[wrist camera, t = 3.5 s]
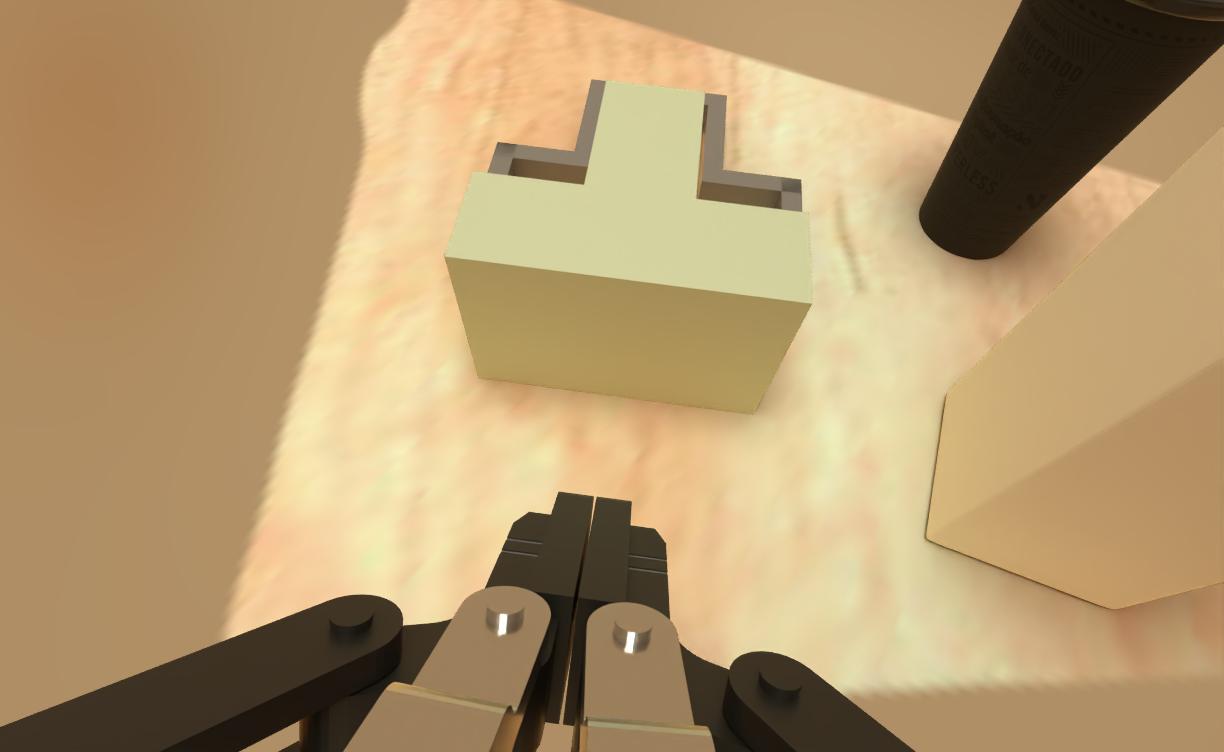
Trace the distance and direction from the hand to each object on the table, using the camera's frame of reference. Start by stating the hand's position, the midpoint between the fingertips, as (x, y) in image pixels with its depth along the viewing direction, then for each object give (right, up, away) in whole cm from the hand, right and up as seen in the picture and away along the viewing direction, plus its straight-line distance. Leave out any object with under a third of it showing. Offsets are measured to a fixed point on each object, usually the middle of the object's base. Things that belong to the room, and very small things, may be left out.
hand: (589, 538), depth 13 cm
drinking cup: (+19, +11, +21) cm, 30 cm away
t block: (+1, +7, +17) cm, 18 cm away
